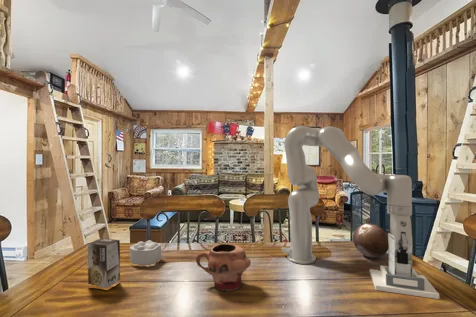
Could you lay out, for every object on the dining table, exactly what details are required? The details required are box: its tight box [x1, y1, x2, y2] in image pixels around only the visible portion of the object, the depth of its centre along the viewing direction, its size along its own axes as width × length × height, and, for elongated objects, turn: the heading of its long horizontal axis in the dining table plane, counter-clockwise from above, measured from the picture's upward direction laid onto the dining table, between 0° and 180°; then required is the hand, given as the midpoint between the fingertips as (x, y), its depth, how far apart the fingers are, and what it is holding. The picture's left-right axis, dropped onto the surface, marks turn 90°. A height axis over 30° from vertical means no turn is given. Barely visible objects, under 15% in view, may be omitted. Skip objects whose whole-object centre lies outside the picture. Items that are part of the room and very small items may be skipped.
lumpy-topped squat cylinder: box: [129, 239, 162, 265], centre depth 113 cm, size 10×13×9 cm
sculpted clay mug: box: [195, 243, 252, 292], centre depth 91 cm, size 20×12×14 cm, turn 88°
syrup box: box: [387, 232, 413, 277], centre depth 91 cm, size 6×6×14 cm
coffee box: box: [87, 237, 121, 288], centre depth 92 cm, size 9×6×16 cm
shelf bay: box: [369, 264, 440, 300], centre depth 90 cm, size 18×14×5 cm
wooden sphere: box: [352, 222, 388, 259], centre depth 117 cm, size 15×15×15 cm
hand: (399, 259), depth 91 cm, fingers closed on syrup box, 6 cm apart
